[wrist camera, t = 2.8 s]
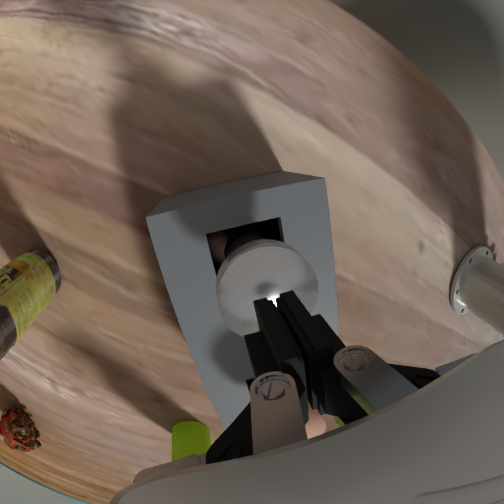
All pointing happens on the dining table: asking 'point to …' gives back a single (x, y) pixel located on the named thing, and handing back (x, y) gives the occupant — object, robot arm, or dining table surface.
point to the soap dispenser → (189, 439)
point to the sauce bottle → (25, 294)
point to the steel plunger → (260, 278)
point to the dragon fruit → (19, 430)
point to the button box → (204, 276)
